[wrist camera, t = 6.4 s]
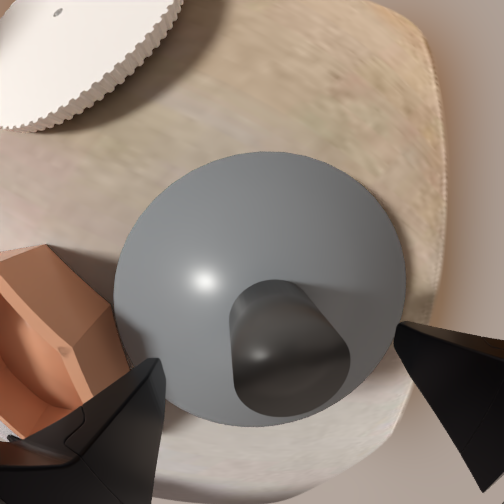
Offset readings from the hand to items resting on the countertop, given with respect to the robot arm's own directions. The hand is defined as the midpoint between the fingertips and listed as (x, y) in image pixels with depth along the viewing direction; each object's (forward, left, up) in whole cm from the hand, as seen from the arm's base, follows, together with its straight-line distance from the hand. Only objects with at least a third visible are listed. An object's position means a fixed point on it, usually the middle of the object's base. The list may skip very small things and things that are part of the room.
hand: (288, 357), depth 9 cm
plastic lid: (+17, +10, -6) cm, 20 cm away
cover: (0, 0, -4) cm, 4 cm away
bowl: (-2, +14, -5) cm, 15 cm away
